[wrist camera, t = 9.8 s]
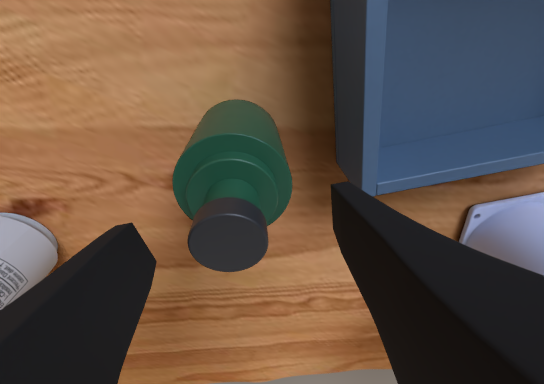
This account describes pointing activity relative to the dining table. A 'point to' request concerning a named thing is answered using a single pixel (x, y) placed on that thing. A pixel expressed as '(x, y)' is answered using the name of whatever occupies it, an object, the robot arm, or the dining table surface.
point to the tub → (436, 89)
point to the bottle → (232, 185)
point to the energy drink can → (23, 255)
